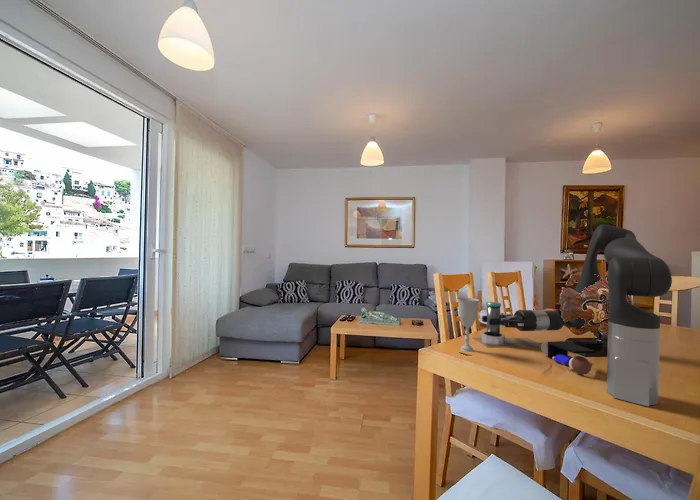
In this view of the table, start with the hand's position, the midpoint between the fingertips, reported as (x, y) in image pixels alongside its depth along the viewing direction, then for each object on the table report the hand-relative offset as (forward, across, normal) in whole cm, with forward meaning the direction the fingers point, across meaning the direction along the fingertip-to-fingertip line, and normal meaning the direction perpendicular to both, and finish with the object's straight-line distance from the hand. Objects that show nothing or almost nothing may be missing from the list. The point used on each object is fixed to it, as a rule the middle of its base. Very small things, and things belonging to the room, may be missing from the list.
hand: (486, 320), depth 114 cm
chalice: (+11, +9, +9) cm, 17 cm away
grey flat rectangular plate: (-9, 0, +9) cm, 13 cm away
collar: (-3, 0, +8) cm, 8 cm away
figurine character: (-14, +21, +10) cm, 27 cm away
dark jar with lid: (-3, 0, +8) cm, 8 cm away
